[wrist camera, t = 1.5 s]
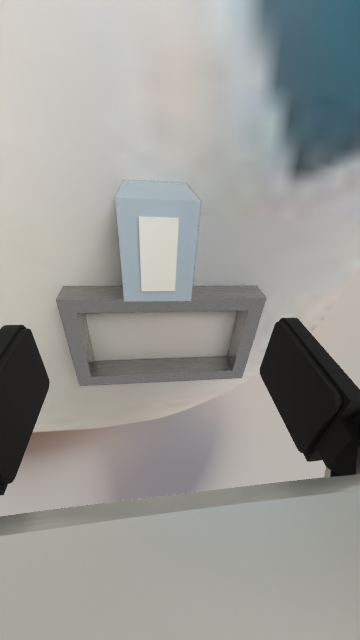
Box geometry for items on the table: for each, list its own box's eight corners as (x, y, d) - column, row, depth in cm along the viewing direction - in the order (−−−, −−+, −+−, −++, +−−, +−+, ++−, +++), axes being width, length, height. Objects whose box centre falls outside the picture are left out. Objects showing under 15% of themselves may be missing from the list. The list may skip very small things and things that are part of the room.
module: (185, 182, 20) (201, 201, 15) (180, 263, 25) (191, 302, 19) (123, 179, 20) (114, 198, 14) (129, 262, 24) (123, 303, 18)
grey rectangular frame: (257, 285, 27) (266, 297, 25) (236, 363, 34) (241, 377, 32) (63, 286, 25) (56, 299, 23) (84, 370, 32) (79, 385, 30)
